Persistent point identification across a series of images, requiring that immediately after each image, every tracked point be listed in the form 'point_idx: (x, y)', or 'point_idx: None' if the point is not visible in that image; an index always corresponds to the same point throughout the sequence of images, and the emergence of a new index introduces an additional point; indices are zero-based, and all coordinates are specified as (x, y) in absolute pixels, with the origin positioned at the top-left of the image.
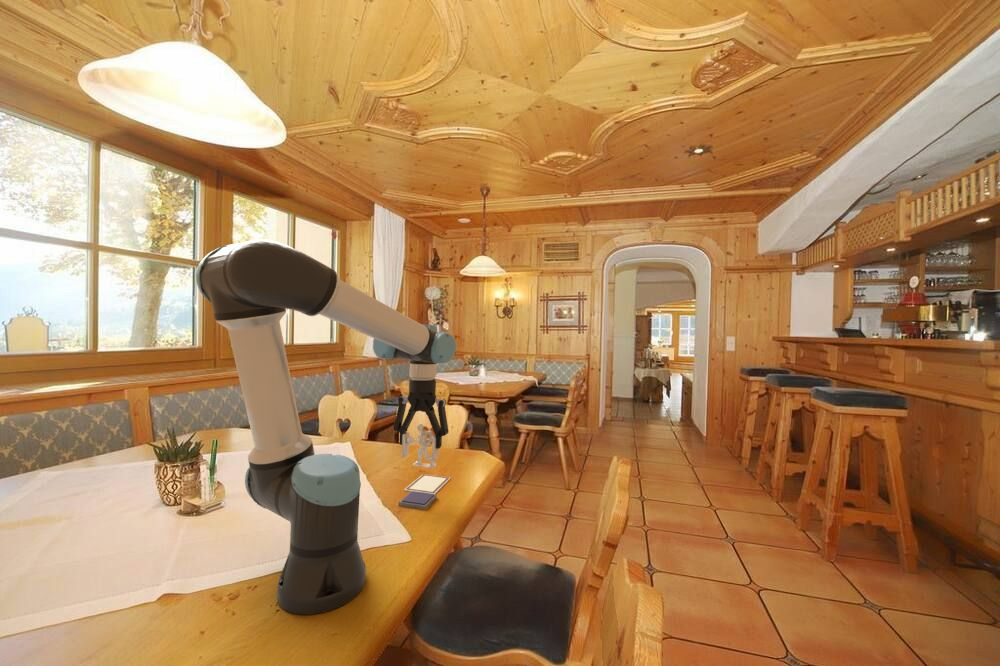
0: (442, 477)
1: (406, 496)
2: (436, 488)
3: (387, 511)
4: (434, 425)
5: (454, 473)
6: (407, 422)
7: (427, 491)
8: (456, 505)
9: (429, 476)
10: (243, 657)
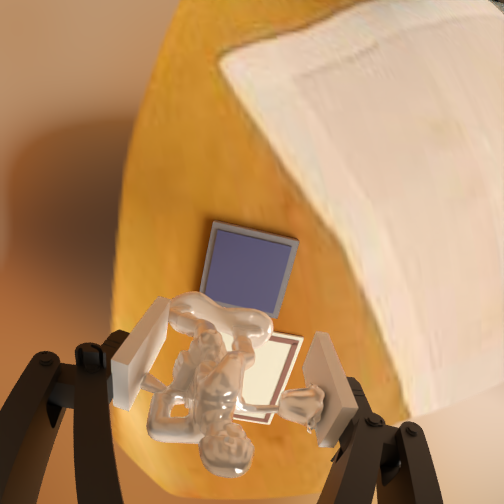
0: None
1: (283, 276)
2: None
3: (320, 202)
4: (84, 424)
5: None
6: (346, 476)
7: None
8: (137, 255)
9: (249, 414)
10: None
